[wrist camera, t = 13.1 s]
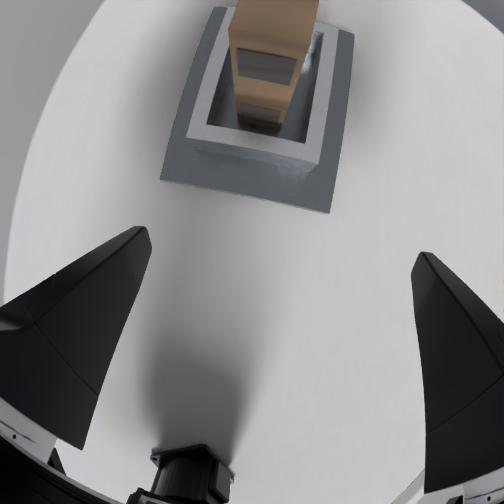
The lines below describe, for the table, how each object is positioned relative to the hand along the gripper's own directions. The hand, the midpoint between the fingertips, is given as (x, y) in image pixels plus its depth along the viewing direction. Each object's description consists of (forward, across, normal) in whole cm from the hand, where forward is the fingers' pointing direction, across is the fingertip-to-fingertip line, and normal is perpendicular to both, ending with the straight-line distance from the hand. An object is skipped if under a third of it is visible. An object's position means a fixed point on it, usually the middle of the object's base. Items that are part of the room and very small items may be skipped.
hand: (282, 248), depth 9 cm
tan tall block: (+15, +2, -3) cm, 15 cm away
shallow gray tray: (+16, +2, -2) cm, 16 cm away
